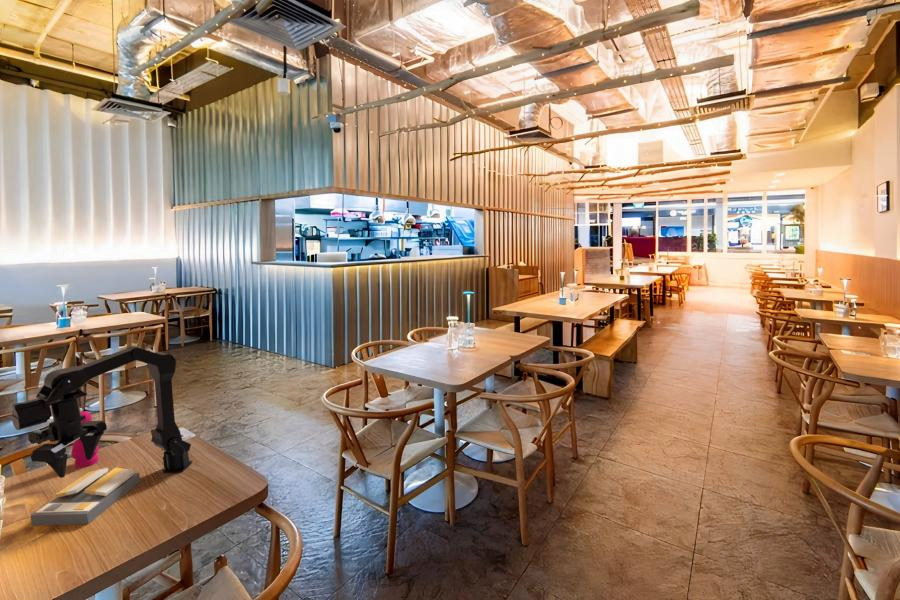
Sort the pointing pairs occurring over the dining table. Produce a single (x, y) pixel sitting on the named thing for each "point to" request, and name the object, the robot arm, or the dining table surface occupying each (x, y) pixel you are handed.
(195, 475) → the dining table surface
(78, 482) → the switch
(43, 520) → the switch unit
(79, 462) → the pepper mill
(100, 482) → the switch
